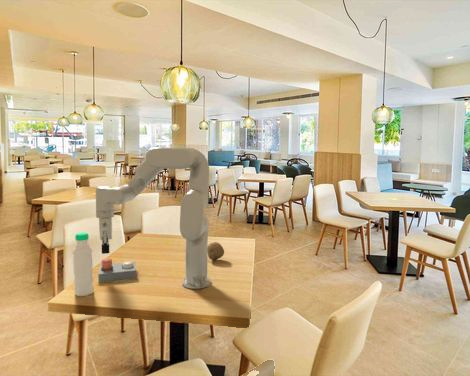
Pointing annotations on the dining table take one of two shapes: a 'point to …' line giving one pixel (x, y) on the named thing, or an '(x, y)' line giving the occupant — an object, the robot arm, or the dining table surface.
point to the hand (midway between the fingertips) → (105, 252)
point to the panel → (117, 273)
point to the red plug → (106, 264)
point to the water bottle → (83, 266)
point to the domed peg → (127, 265)
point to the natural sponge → (215, 251)
